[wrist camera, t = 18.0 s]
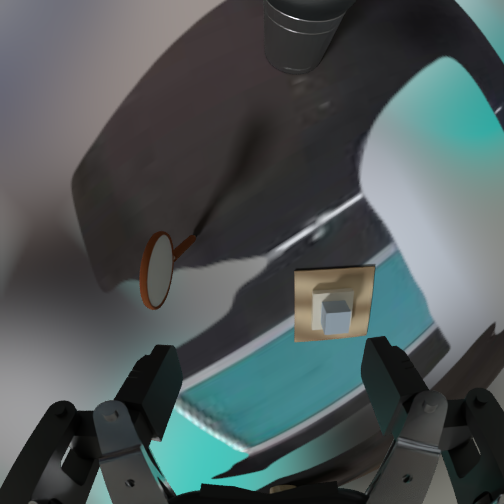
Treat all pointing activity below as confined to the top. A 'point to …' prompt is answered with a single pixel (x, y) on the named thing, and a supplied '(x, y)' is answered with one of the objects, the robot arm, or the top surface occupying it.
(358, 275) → the cork mat
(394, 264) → the top surface
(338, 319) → the block
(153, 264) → the magnifying glass
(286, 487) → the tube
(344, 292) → the tile
